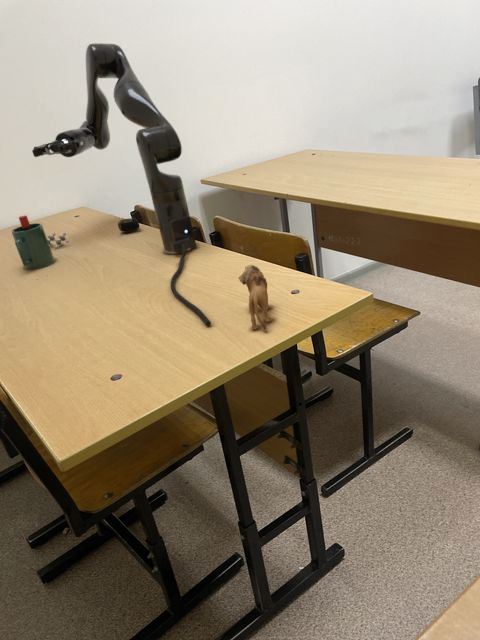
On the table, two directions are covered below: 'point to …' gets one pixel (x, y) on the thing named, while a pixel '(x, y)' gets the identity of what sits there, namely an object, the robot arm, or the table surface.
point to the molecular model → (57, 240)
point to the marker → (24, 223)
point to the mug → (33, 246)
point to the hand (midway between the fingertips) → (47, 151)
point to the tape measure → (128, 225)
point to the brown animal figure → (256, 293)
